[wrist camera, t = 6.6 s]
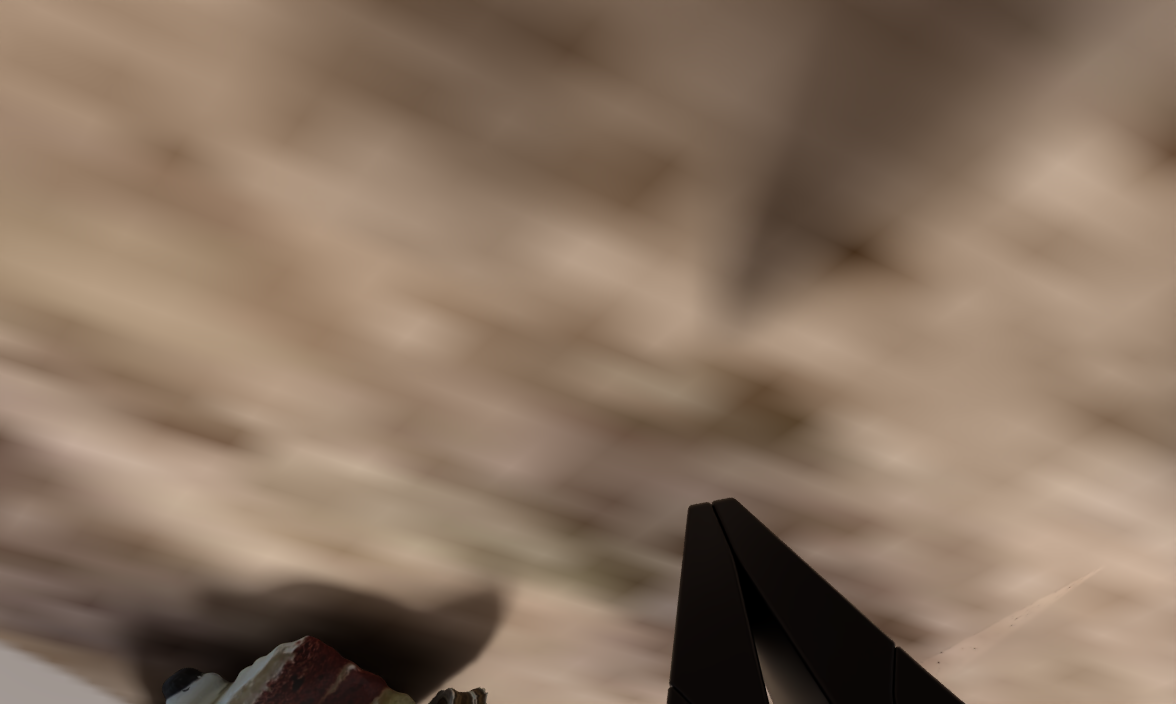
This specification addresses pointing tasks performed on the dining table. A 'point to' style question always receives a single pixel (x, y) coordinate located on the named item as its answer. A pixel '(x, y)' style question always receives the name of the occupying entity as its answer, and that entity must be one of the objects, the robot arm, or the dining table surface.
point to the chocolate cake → (299, 682)
